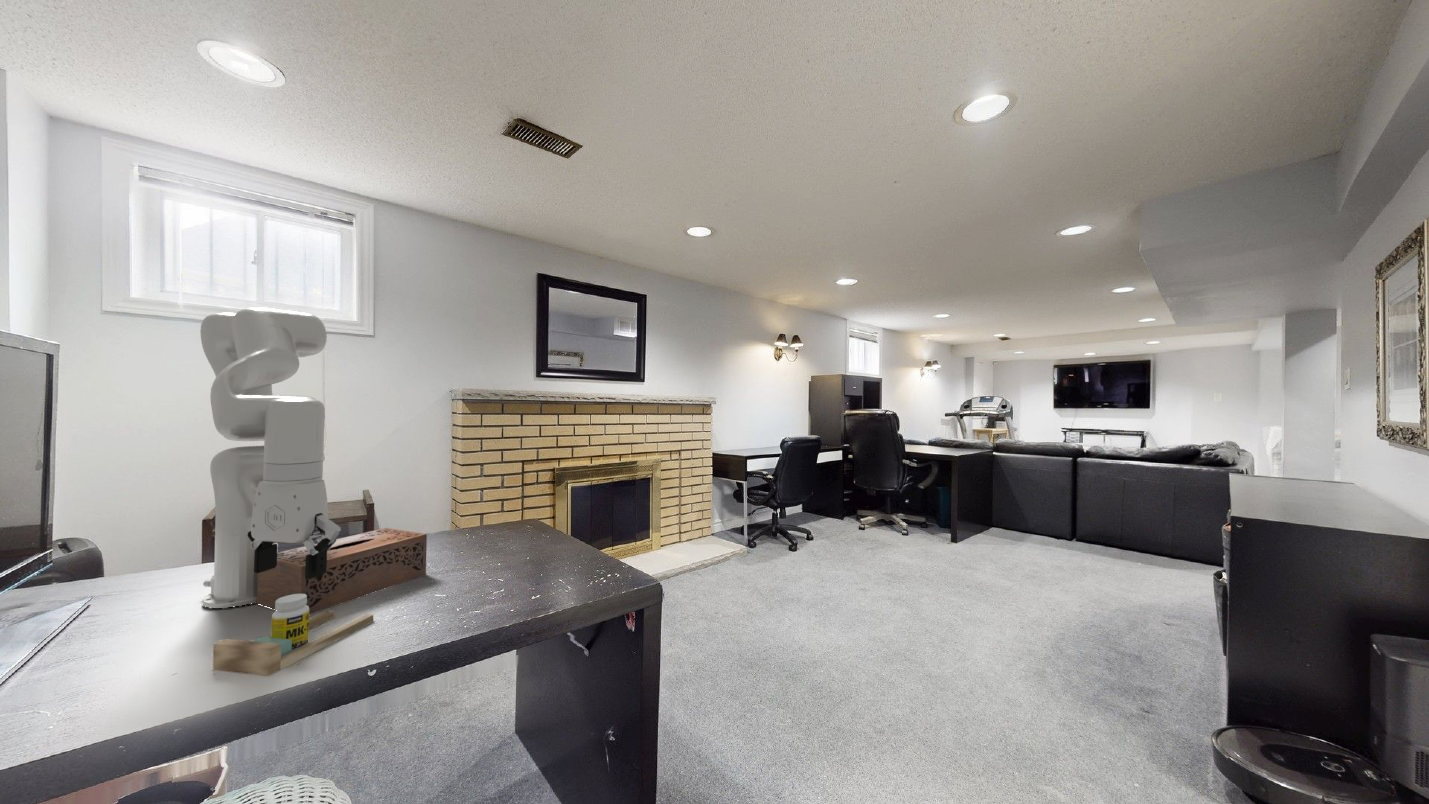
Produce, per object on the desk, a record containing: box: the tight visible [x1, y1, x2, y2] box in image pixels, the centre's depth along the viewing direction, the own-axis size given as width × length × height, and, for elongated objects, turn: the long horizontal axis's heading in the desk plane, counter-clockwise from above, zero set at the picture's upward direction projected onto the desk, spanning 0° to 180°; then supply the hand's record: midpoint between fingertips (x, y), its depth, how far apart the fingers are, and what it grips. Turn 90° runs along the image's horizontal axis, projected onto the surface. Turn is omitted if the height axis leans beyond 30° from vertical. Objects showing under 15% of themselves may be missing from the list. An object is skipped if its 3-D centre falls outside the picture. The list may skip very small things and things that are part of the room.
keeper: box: [252, 636, 292, 656], centre depth 76 cm, size 6×3×3 cm, turn 82°
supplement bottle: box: [270, 594, 310, 651], centre depth 80 cm, size 5×5×8 cm
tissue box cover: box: [256, 527, 428, 616], centre depth 106 cm, size 26×14×10 cm, turn 158°
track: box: [212, 610, 374, 677], centre depth 82 cm, size 10×19×4 cm, turn 172°
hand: (290, 573), depth 81 cm, fingers open, 9 cm apart
